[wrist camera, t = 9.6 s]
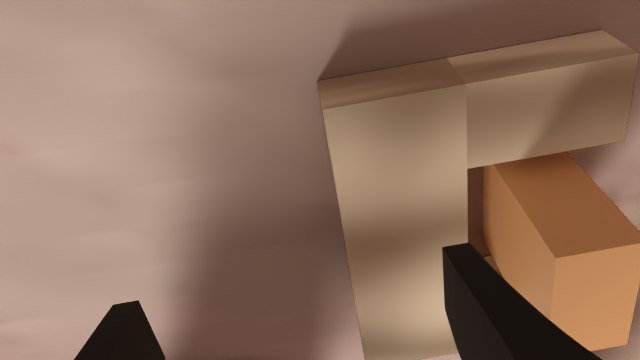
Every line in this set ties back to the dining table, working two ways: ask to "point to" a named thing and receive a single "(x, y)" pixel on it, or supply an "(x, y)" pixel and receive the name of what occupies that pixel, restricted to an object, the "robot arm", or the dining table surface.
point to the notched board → (452, 163)
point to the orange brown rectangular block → (563, 246)
